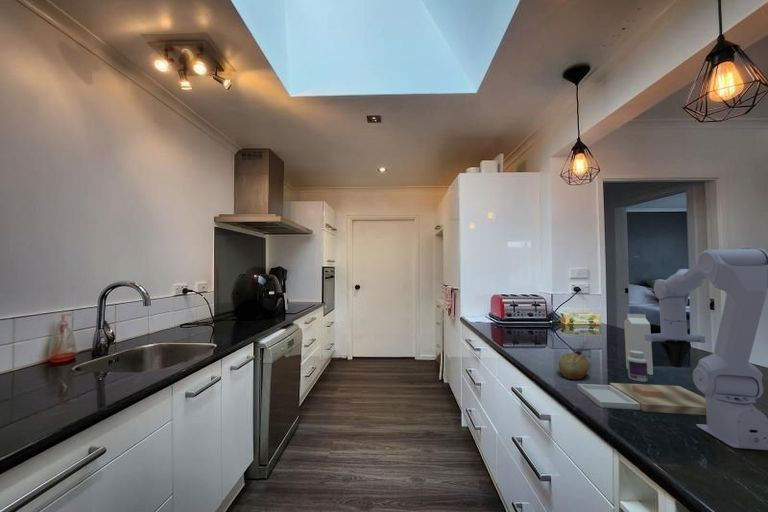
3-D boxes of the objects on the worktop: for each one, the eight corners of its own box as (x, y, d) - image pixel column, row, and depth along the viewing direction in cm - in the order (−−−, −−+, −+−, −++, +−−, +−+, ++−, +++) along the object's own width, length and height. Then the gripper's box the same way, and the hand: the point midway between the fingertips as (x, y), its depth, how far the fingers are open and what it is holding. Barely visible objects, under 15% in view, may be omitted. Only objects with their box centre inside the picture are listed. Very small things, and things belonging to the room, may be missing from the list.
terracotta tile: (650, 390, 91) (650, 385, 92) (663, 397, 86) (662, 391, 87) (632, 389, 92) (632, 384, 92) (643, 396, 87) (643, 391, 87)
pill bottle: (651, 382, 103) (650, 354, 104) (634, 381, 104) (632, 353, 105) (641, 377, 109) (640, 350, 109) (624, 376, 110) (623, 349, 110)
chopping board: (679, 392, 95) (678, 385, 95) (728, 416, 79) (727, 408, 79) (609, 389, 98) (609, 382, 98) (644, 411, 82) (643, 404, 82)
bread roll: (591, 372, 115) (590, 351, 115) (588, 384, 103) (587, 360, 103) (562, 367, 121) (561, 347, 121) (556, 378, 109) (556, 356, 109)
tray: (610, 390, 97) (610, 385, 97) (640, 409, 83) (640, 404, 83) (577, 388, 99) (577, 383, 99) (601, 407, 85) (600, 401, 85)
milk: (626, 368, 118) (622, 312, 120) (644, 370, 116) (641, 313, 118) (634, 373, 112) (630, 314, 114) (653, 375, 111) (649, 315, 112)
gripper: (689, 318, 92) (692, 363, 91) (636, 317, 94) (639, 361, 94) (710, 322, 85) (713, 370, 84) (653, 321, 87) (656, 368, 87)
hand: (675, 366), depth 89 cm, fingers closed
